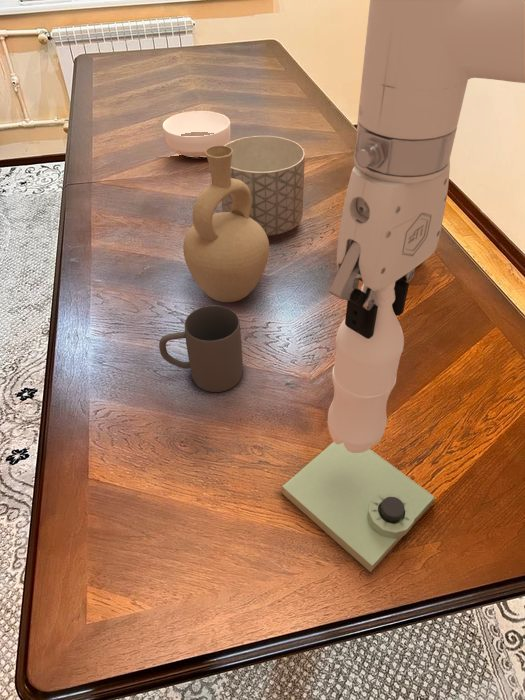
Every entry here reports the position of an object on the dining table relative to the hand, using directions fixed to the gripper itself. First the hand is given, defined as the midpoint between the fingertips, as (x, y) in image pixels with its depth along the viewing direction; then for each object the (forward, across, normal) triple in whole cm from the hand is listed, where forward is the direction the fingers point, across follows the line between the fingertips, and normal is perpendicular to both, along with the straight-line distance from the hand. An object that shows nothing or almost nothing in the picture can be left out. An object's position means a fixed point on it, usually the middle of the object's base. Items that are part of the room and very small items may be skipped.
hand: (374, 318), depth 55 cm
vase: (+33, +19, +47) cm, 60 cm away
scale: (+32, 0, -2) cm, 32 cm away
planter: (+33, +42, +61) cm, 81 cm away
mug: (+33, 0, +32) cm, 46 cm away
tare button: (+29, 0, -8) cm, 30 cm away
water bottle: (+20, 0, 0) cm, 20 cm away
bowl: (+33, +58, +106) cm, 125 cm away
